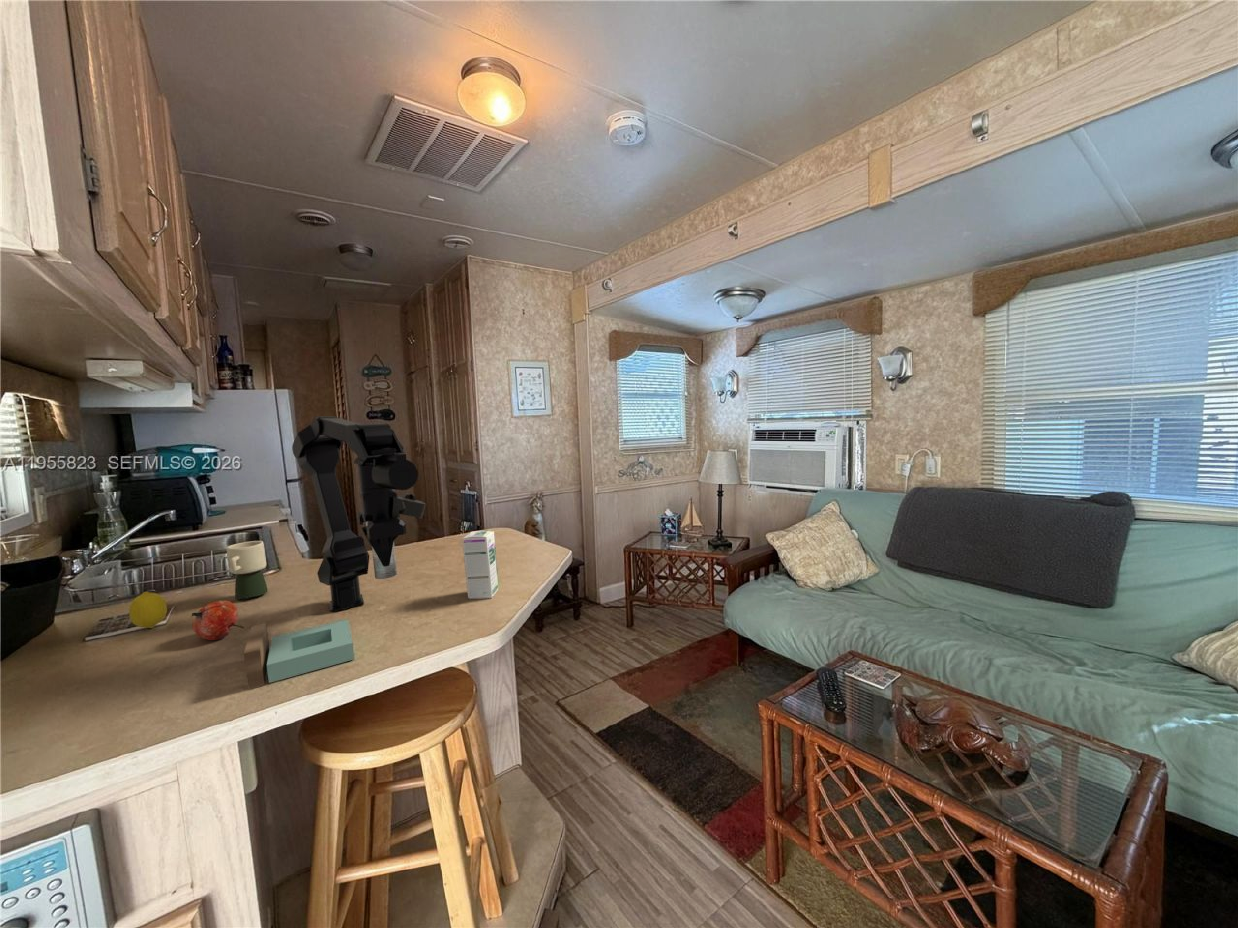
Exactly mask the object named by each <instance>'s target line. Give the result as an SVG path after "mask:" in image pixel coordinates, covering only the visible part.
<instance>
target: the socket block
mask: <svg viewBox="0 0 1238 928" xmlns="http://www.w3.org/2000/svg"><path fill="white" fill-rule="evenodd" d="M353 643H354V642H353V637H352V633H351V626H350V621H349V618H347V619H342V620H337V621H334V622H329V623H325V624H320V625H317V626H312V627H308V628H304V629H299V630H295V631H290V632H288V633H283V634H278V635H275V636H272V637H271V640H270V644H269V649H270V650H269V655H268V661H267V678H268V683H269V684H270V683H271V684H272V683H274V682H277V681H280V680H284V679H287V678H289V679H290V678H291V677H295V676H299V675H303V674H306V673H310V672H314V671H317V670H321V669H323V668H328V667H332V666H335V665H339V664H342V663H345V662H349V661H353V660H355V652H354V644H353Z"/></svg>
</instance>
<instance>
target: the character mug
mask: <svg viewBox="0 0 1238 928" xmlns="http://www.w3.org/2000/svg"><path fill="white" fill-rule="evenodd" d="M225 549H226V557H227V561H228V564H229V567H228V572H229V573H231V574H235V575H236V577H235V583H234V584H235V585H234V586H235V587H234V588H235V589H234V592H235V594H234V596H235V597H234V598H235V599H236V600H242V599H247V600H250V599H251V598H253V597H259V596H262V595H265V594H266V593H268V591H269V590H268V585H267V582H266V579H265V576H264V572H262V570H264V569H265V568H266V567H267V559H266V549H265V545H264V541H263V540H253V541H252V540H251V541H243V542H238V543H234V544H231V545H228V546H226V548H225Z"/></svg>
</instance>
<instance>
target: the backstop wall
mask: <svg viewBox="0 0 1238 928" xmlns="http://www.w3.org/2000/svg"><path fill="white" fill-rule="evenodd" d="M269 650H270V643H269V635H268V628H267V622H265V623H261V624H260V623H259V624H255V625H252V626H251V629H250V632H249V636H248V638H247V641H246V645H245V648H244V652H243V659H244V665H245V666H244V667H245V673H246V680H247V686H248V687H247V688H248V691H249V690H253V689H256V688H260V687H264V686H265V684H266V680H267V676H268V672H267V661H268V655H269Z"/></svg>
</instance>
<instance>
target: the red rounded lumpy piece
mask: <svg viewBox="0 0 1238 928" xmlns="http://www.w3.org/2000/svg"><path fill="white" fill-rule="evenodd" d="M238 614H239V613H238V607H237V606H236V605H235V604H234V603H232V602H231V601H229V600H224V599H222V600H215V601H213V602H210V603H207V605H205V606H204V607H201V608H200V609H199V610H198V611H197V612H192V613H191V618H192V617H193V616H194V617H195V618H194V619H193V621H192V628H193V631H194V632H195V635H196V636H198V637H200V638H203V639H206V640H208V641H215V640H216V641H217V640H222V639H224V638H225V637H226V636H228V635H229V634H230V632H231V627H237V628H241V629H243V628H244V626H242V625H239V624H236V623H237V622H238ZM242 627H243V628H242Z"/></svg>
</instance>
